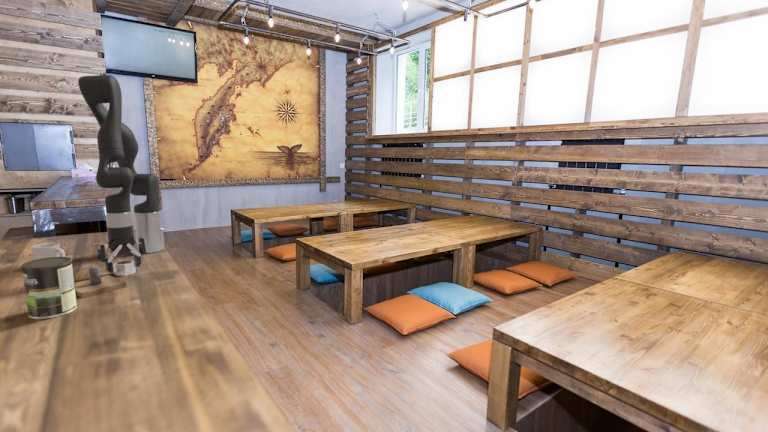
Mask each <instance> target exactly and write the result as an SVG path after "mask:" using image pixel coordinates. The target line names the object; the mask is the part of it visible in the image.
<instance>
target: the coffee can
mask: <svg viewBox="0 0 768 432" xmlns="http://www.w3.org/2000/svg"><path fill="white" fill-rule="evenodd" d="M20 268H21V270H22V276H23V284H24V291H25V298H26V304H27V312H28V315H27V316H28V318H29V319H32V320H47V319H55V318H58V316H59V317H62V316H61V315H63V316H65V314H66V315H68V314H71V313H73V312H74V311H76V310H77V309H78V305H77V295H75V286H74V283H75V280H74V279H75V278H74V270H73V259H72V258H71V257H68V256H65V257H61V256H60V257H49V258H42V259H37V260H35V259H34V260H30V261H26V262H24V263H22V264H21V265H20ZM54 317H55V318H54Z"/></svg>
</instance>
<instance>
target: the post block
mask: <svg viewBox="0 0 768 432" xmlns="http://www.w3.org/2000/svg"><path fill="white" fill-rule="evenodd" d="M88 273H89V279H87V280H82V281H78V282H77V281H76V282H74V286H75V295H76V297H79V298H81V299H85V298H87V297H91V296H92V297H93V296H97V295H99V294H104V293H108V292H110V291H111V292H112V291H115V290H119V289H123V288H127V282H126V281H124V280H121V279H120V278H118V277H114V276H112V275H110V274H107V275H104V276H102V275H101V267H99V266H96V267H95V266H94V267H90V268H88Z"/></svg>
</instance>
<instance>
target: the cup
mask: <svg viewBox="0 0 768 432" xmlns="http://www.w3.org/2000/svg"><path fill="white" fill-rule="evenodd" d="M31 250H32V253H33V257H34V260H37V259H42V258H49V257H66V252H65V250H64V249H63V248H62V247H61V243H59V242H44V243H43V242H42V243H38V244H35V245H32V246H31Z"/></svg>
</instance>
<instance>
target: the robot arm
mask: <svg viewBox="0 0 768 432" xmlns="http://www.w3.org/2000/svg"><path fill="white" fill-rule="evenodd" d="M77 80H78V82H77V83H78V88H79V91H80V93H81V95H82V97H83V99H84V101H85V103H86V104H87V106H88V108H89V110H90V111H91V113H92V114H93V116H94V118H95V120H96V121H97V123H98V125H99V127H100V128H99V130H98V132H97V136H96V139H97V147H98V155H99V157H98V158H99V159H98V167H97V171H96V176H95V181H96V183H97V186H99V187H101V188H102V189H118V188H121V190H120V191H119V192H118V193H115V194H110V195H106V197H105V199H104V202H105V213H106V214H105V215H106V216H105V217H106V218H105V219H106V220H105V223H106V231H107V239H108V242H107V243H98V244H97V261H99V262H101V263H105V270H106V271H107V272H108V273H110V274H112V273H113V274H114V268H113V262H112V261H113V260H114V258H115V257H116V256H117V255H121V254H127V253H132V255H134V256H133V259H134V261H135V266H136V268H138V267H140V265H141V264H142V259H141V257H142V255H145V254H153V253H157V252H161V251H162V250H165V249H166V248H164V247H165V246H166V245H165V235H164V228H163V227H162V225H161V214H160V212H161V211H160V204H161V201H160V199H161V197H160V181H159V178H158V176H157V174H154V173H138V172H137V171H136V169H135V166H134V165H135V160H136V158H137V156H138V153H139V143H138V141H137V139H136V136H135V134H134V132H133V131H132V129H131V128H130V127H128V126H127V124H125V123H123V122H122V118H123V117H122V114H123V113H122V112H123V111H122V109H123V107H122V105H123V103H122V102H123V95H122V89H121V85H120V83H119V81H118V79H117V78H116V77H115V76H114V75H111V74H101V75H100V74H99V75H98V74H95V75H83V76H80V77H79V78H78V79H77ZM104 104H108V105H109V106H108V109H107V108H106V107H105V105H104ZM112 163H117V165H118V166H117V167H115V166H114V167H113V166H112V167H111V166H110V167H109V165H110V164H112ZM131 195H132V196H142V197H143V196H145V198H146V199H145V201H143V202H141V203H137V204H134V206H133V214H134V215H132V211H131V209H132V208H131ZM133 216H134V221H135V222H134V221H133ZM134 225H135V232H134ZM135 234H136V238H134V237H135ZM135 244H137V248H135V246H134V245H135ZM108 248H109V249H110V250H109V251H108V252H107V255H106V250H107V249H108Z"/></svg>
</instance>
